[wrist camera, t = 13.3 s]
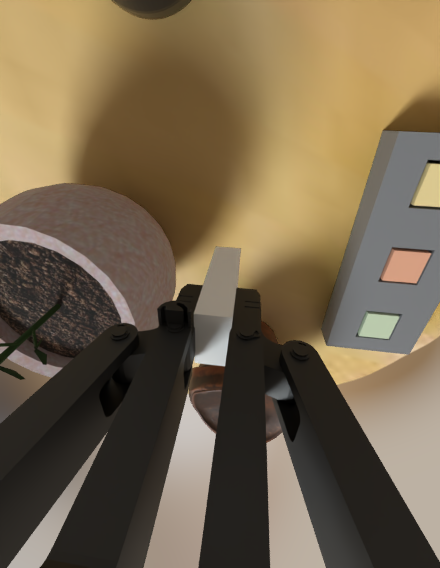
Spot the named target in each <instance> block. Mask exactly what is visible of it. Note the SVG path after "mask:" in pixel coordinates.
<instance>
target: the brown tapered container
mask: <svg viewBox="0 0 440 568" xmlns="http://www.w3.org/2000/svg"><path fill="white" fill-rule="evenodd" d="M261 330H262V333H263V335H264V336H265V337H266V338H267V339H269V340H270V341H272V342H274V343H277V344H278V342H277V340H276V337H275V335H274V333H273V331H272V330H271V328H270V327H269V326H268V325H267V324H265V323H264V322H262V321H261ZM224 370H225V366H218V365H209V364H201V363H200V365H199V367H194V368H193V369H192V377H191V381H190V385H189V397H190V401H191V403H192V404H193V407H194V408H195V410H196V411H197V412H198V414H199V415H200V417H201V419H202V420H203V421H204V423H205V424H206V425H207V426H208V427H209V428H210V429H211V430H212V431H213V432H214V433H216V431H217V423H218V416H219V408H220V401H221V393H222V386H223V378H224ZM265 414H266V443H267V442H269V441H271V440H273V439H274V438H276V437H277V436H278V435H279V434H281V433H282V429H281V426H280V423H279V420H278V416H277V413H276V410H275V407H274V404H273V401H272V397H270V396H268V395H266V394H265Z"/></svg>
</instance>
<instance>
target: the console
mask: <svg viewBox="0 0 440 568" xmlns="http://www.w3.org/2000/svg"><path fill="white" fill-rule="evenodd" d="M427 161H438V162H440V133H430V132H407V131H383V132H382V135H381V138H380V142H379V145H378V148H377V151H376V154H375V158H374V161H373V164H372V167H371V170H370V174H369V177H368V180H367V183H366V186H365V190H364V193H363V196H362V199H361V203H360V206H359V209H358V212H357V215H356V219H355V222H354V225H353V228H352V231H351V235H350V238H349V241H348V244H347V247H346V251H345V254H344V257H343V260H342V263H341V267H340V270H339V273H338V276H337V280H336V283H335V286H334V289H333V292H332V296H331V299H330V302H329V305H328V308H327V312H326V315H325V318H324V321H323V324H322V328H321V330H322V333H323V336H324V340H325V343H326V346H335V347H344V348H353V349H363V350H372V351H381V352H390V353H400V354H410V352H411V350H412V349H413V347H414V345H415V343H416V342H417V340H418V338H419V337H420V335H421V333H422V331H423V330H424V328H425V326H426V325H427V323H428V321H429V319H430V318H431V316H432V314H433V312H434V311H435V309H436V307H437V306H438V304H439V302H440V207H431V206H415V205H412V204H410V203H411V200H412V198H413V195H414V193H415V190H416V188H417V186H418V183H419V181H420V178H421V176H422V173H423V171H424V169H425V166H426V164H427ZM392 247H396V248H409V249H422V250H427V251H429V252H430V253H431V255H430V257H429V259H428V261H427V263H426V265H425V267H424V269H423V271H422V273H421V275H420V277H419V279H418V281H417V283H407V282H395V281H384V280H382V279H381V278H380V276H381V273H382V271H383V269H384V266H385V264H386V261H387V259H388V256H389V254H390V251H391V249H392ZM366 311H374V312H385V313H395V314H398V315H399V316H400V317H399V319H398V321H397V323H396V325H395V327H394V329H393V331H392V333H391V335H390V337H389V339H383V338H373V337H364V336H359V335H358V333H357V332H358V329H359V327H360V325H361V322H362V320H363V317H364V315H365V312H366Z"/></svg>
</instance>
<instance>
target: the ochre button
mask: <svg viewBox="0 0 440 568" xmlns="http://www.w3.org/2000/svg"><path fill="white" fill-rule="evenodd" d="M410 204H412V205H415V206H431V207H440V162H438V161H427V164H426V166H425V169H424V171H423V173H422V176H421V178H420V181H419V183H418V186H417V188H416V190H415V193H414V195H413V198H412V200H411V203H410Z"/></svg>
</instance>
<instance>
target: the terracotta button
mask: <svg viewBox="0 0 440 568" xmlns="http://www.w3.org/2000/svg"><path fill="white" fill-rule="evenodd" d="M430 255H431V253H430V252H429V251H427V250H422V249H409V248H396V247H392V249H391V251H390V254H389V256H388V259H387V261H386V264H385V266H384V269H383V271H382V273H381V276H380V278H381V279H382V280H384V281H395V282H407V283H417V281H418V279H419V277H420V275H421V273H422V271H423V269H424V267H425V265H426V263H427V261H428V259H429V257H430Z"/></svg>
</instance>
